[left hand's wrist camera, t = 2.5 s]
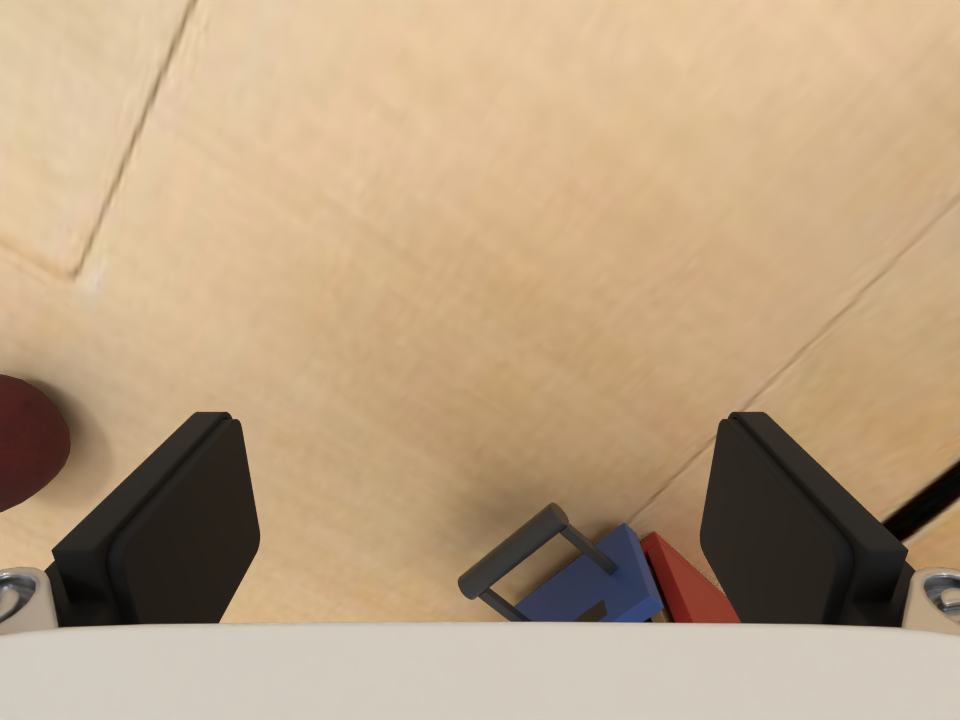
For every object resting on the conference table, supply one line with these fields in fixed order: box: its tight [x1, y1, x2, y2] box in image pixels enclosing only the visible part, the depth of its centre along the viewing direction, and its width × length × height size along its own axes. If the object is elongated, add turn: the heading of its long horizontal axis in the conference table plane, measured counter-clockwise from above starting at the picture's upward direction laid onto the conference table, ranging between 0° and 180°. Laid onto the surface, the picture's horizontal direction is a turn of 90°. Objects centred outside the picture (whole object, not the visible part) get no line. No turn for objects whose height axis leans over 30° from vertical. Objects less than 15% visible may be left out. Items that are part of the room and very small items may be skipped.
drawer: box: [458, 503, 675, 623], centre depth 36 cm, size 25×10×6 cm, turn 46°
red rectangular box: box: [640, 532, 741, 624], centre depth 37 cm, size 20×11×8 cm, turn 46°
